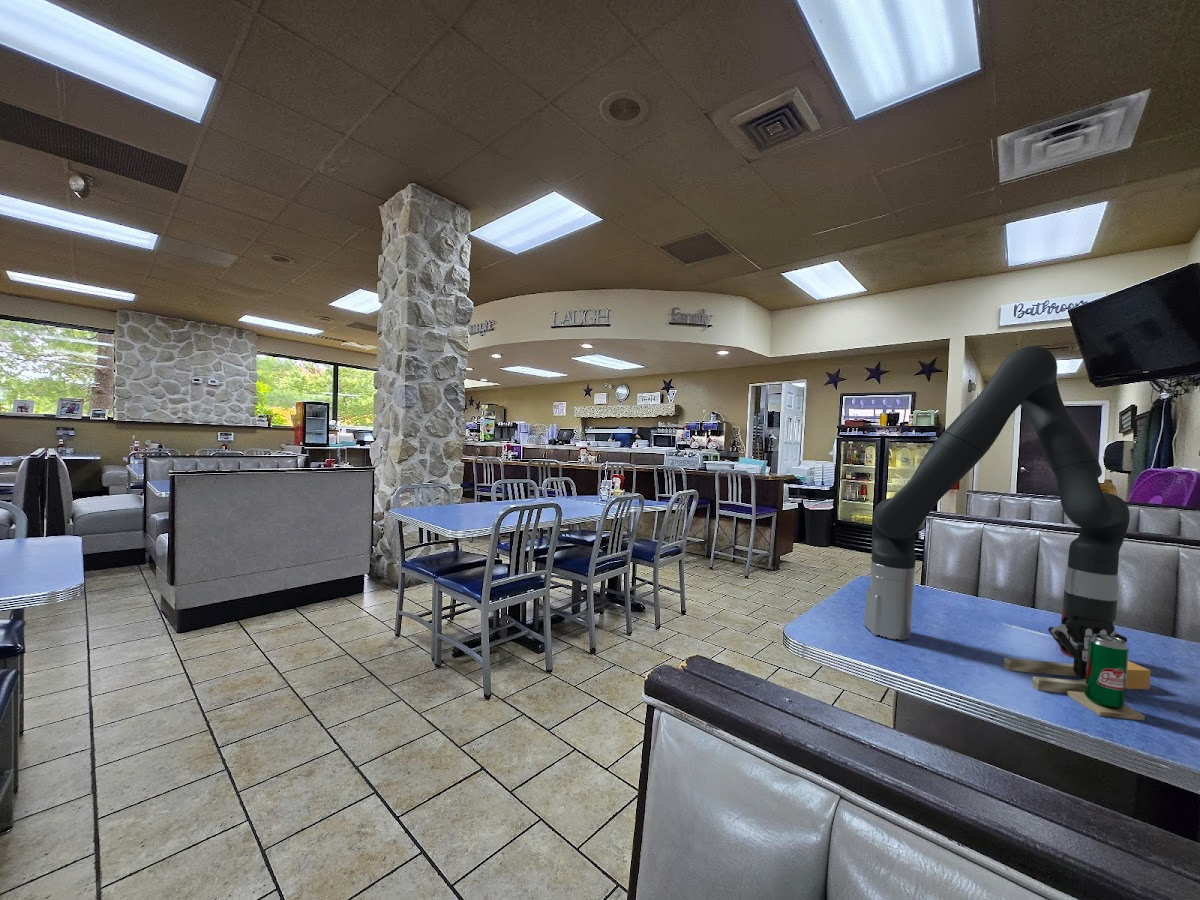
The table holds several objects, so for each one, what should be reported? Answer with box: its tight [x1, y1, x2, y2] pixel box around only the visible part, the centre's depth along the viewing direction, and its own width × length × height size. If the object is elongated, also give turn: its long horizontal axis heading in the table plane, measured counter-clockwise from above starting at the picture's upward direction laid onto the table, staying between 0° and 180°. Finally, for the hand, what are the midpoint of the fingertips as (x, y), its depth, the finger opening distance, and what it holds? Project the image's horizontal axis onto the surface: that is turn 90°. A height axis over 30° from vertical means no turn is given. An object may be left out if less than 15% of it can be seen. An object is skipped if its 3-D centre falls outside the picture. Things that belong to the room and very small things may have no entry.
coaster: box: [1066, 691, 1146, 721], centre depth 89 cm, size 7×7×1 cm
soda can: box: [1085, 634, 1130, 709], centre depth 89 cm, size 5×5×12 cm
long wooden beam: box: [1083, 660, 1152, 690], centre depth 98 cm, size 10×4×4 cm, turn 92°
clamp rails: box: [1003, 657, 1086, 694], centre depth 98 cm, size 14×10×2 cm, turn 83°
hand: (1083, 677), depth 97 cm, fingers closed
